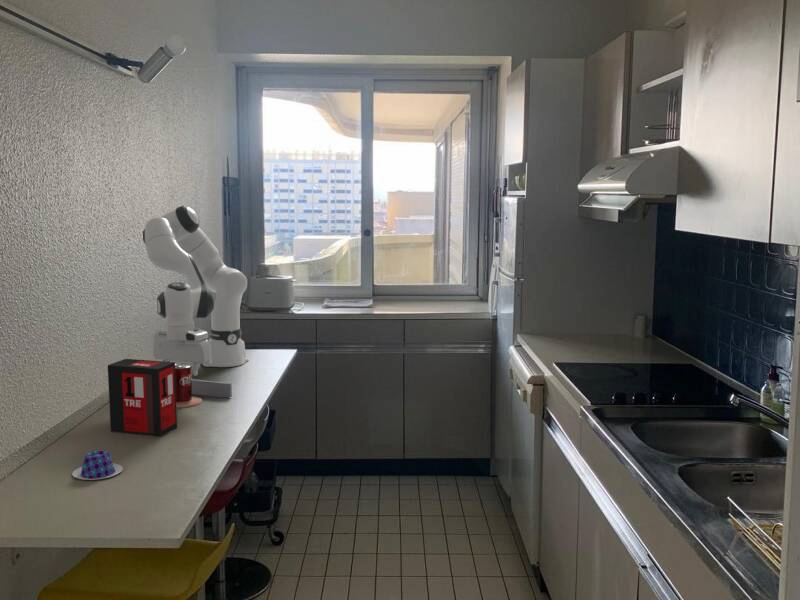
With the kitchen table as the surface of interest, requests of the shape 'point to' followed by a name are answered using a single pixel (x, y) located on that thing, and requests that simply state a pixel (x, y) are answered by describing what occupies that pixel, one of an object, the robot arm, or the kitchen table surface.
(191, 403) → the terracotta mat
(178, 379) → the soda can
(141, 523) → the kitchen table surface
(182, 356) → the robot arm
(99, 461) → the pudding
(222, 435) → the kitchen table surface
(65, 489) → the kitchen table surface
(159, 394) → the cleaning product box
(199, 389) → the acrylic wall
